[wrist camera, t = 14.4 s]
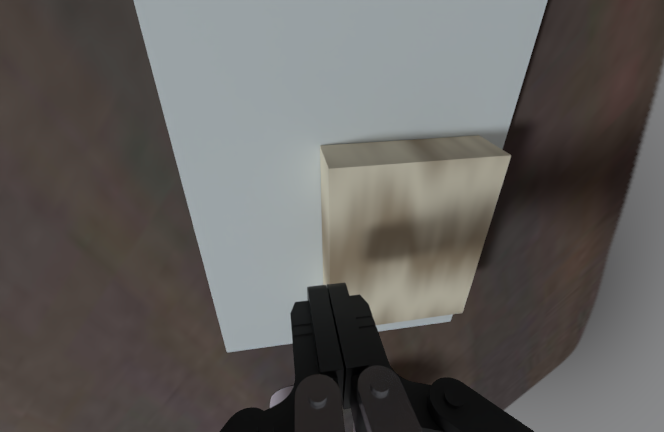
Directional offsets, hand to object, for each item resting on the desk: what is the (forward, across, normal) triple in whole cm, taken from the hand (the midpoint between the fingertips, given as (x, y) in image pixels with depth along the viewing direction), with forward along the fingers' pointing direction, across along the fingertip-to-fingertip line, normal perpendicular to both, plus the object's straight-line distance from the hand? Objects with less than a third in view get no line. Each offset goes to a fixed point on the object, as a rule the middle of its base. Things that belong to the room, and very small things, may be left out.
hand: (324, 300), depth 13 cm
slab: (+4, -1, +1) cm, 4 cm away
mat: (+6, -2, 0) cm, 6 cm away
